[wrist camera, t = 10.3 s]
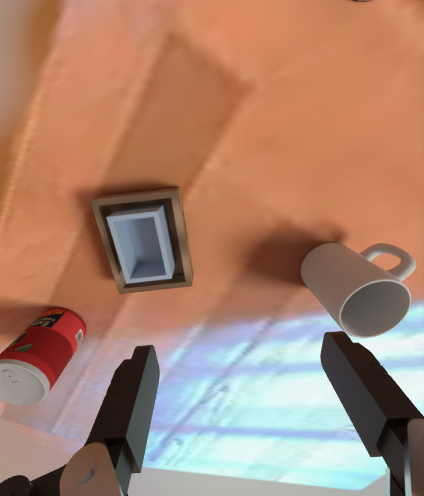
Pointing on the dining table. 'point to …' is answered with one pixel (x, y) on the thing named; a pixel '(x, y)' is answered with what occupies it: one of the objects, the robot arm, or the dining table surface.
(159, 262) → the small crate
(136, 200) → the box
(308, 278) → the mug
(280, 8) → the dining table surface
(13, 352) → the canned food
